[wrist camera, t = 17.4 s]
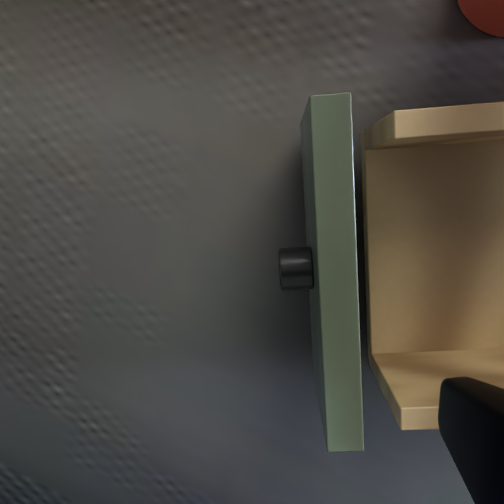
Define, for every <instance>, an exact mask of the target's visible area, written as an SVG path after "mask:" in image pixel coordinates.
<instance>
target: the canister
mask: <svg viewBox="0 0 504 504" xmlns="http://www.w3.org/2000/svg"><path fill="white" fill-rule="evenodd" d="M457 2H458V4H459V7H460V9H461V10H462V12H463V14H464V15H465V16H466V18H467V19H468V20H469V21H470V22H471V23H472V24H473V25H474V26H475V27H477V28H478V29H480V30H482V31H483V32H485V33H488V34H491V35H494V36H498V37H504V0H457Z"/></svg>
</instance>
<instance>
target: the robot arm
mask: <svg viewBox="0 0 504 504" xmlns="http://www.w3.org/2000/svg"><path fill="white" fill-rule="evenodd" d="M438 425H439V430H440V433H441V436H442V438H443V440H444V442H445V444H446V446H447V448H448V450H449V452H450V454H451V456H452V458H453V460H454V462H455V464H456V466H457V468H458V470H459V472H460V474H461V476H462V478H463V480H464V482H465V484H466V487H467V489H468V491H469V493H470V495H471V497H472V499H473V501H474V503H475V504H504V389H503V388H500V387H497V386H495V385H492V384H489V383H486V382H483V381H480V380H477V379H474V378H471V377H466V376H463V377H452V378H445V379H444V380H443V381H442V383H441V386H440V397H439V409H438Z"/></svg>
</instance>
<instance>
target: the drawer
mask: <svg viewBox="0 0 504 504" xmlns="http://www.w3.org/2000/svg"><path fill="white" fill-rule="evenodd" d="M300 129H301V147H302V166H303V184H304V202H305V221H306V239H307V246H306V247H290V248H279V250H278V253H279V271H280V286H281V290H282V291H291V290H309V295H310V313H311V332H312V350H313V369H314V379H315V385H316V390H317V396H318V402H319V408H320V413H321V419H322V425H323V431H324V436H325V442H326V448H327V451H328V452H352V451H364V431H363V403H362V376H361V348H360V321H359V294H358V266H357V239H356V211H355V184H354V156H353V129H352V101H351V92H343V93H332V94H320V95H311V96H309V99H308V102H307V105H306V108H305V111H304V114H303V117H302V120H301V123H300ZM361 163H362V193H363V222H364V252H365V282H366V311H367V341H368V363H369V365H370V367H371V369H372V372H373V374H374V376H375V378H376V380H377V382H378V384H379V386H380V388H381V390H382V392H383V394H384V396H385V398H386V400H387V402H388V404H389V407H390V409H391V411H392V413H393V415H394V417H395V419H396V421H397V423H398V425H399V427H400V429H401V430H429V429H439V425H438V409H439V397H440V386H441V383H442V381H443V380H444V379H445V378H452V377H463V376H466V377H471V378H474V379H477V380H480V381H483V382H486V383H489V384H492V385H495V386H497V387H500V388H503V389H504V101H502V102H490V103H478V104H466V105H455V106H443V107H431V108H419V109H408V110H396V111H393V112H392V113H390V114H389V115H387V116H386V117H384V118H382V119H381V120H379V121H378V122H376V123H375V124H373V125H372V126H370V127H368V128H367V129H365V130H364V131H363V132H361Z"/></svg>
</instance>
